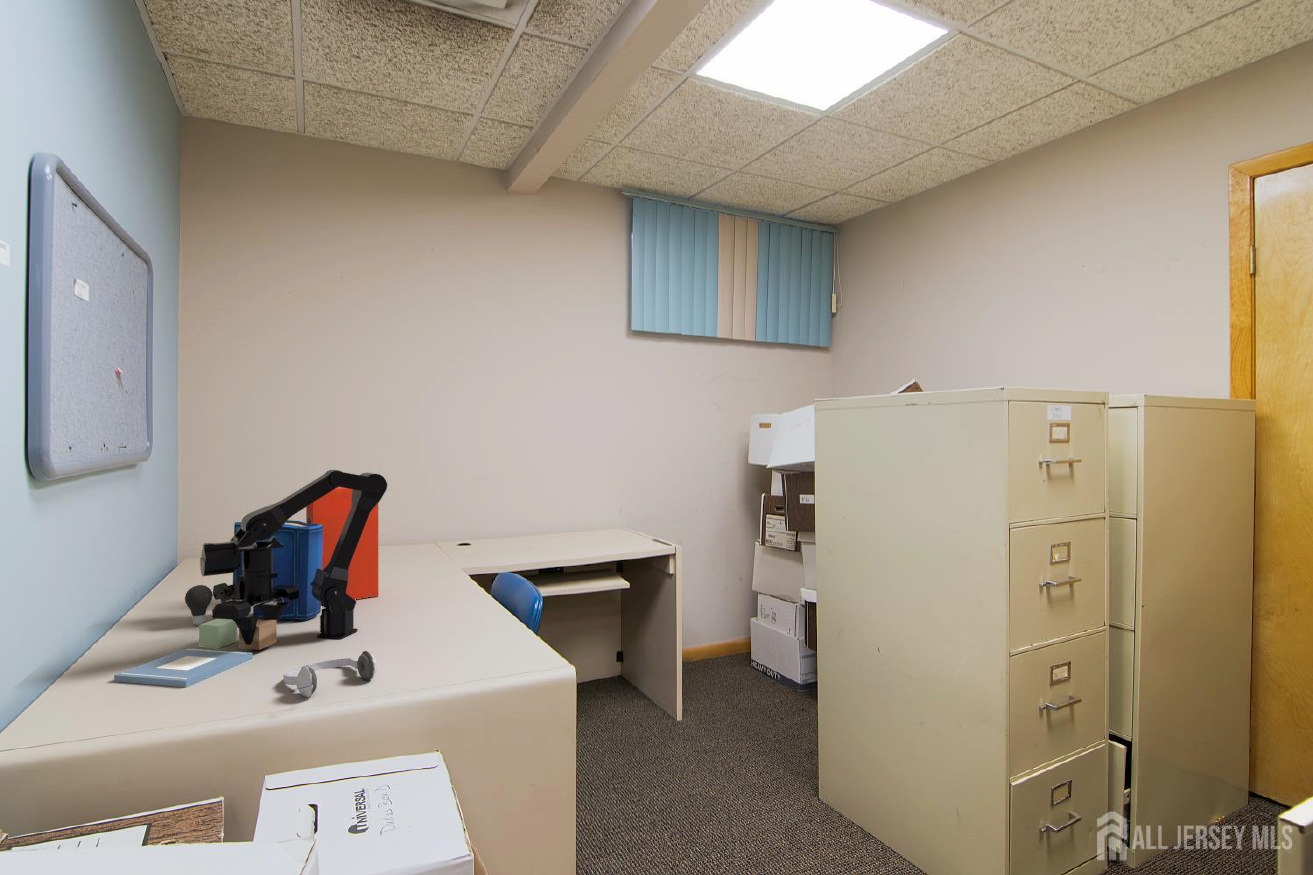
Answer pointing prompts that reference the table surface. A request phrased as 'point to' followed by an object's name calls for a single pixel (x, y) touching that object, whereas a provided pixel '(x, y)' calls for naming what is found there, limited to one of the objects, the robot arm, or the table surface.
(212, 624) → the green block
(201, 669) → the board
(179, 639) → the table surface
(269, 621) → the walnut block
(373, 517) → the file binder
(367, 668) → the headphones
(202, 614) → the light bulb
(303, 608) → the book
